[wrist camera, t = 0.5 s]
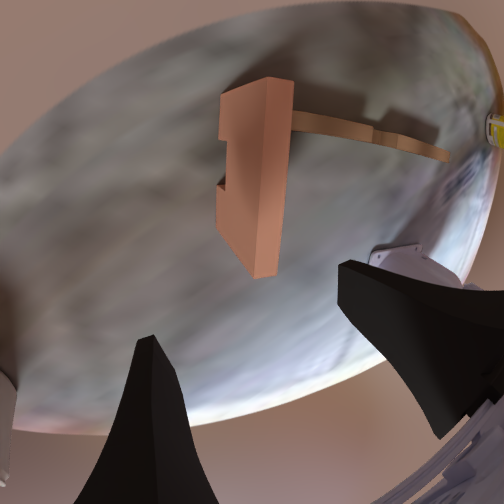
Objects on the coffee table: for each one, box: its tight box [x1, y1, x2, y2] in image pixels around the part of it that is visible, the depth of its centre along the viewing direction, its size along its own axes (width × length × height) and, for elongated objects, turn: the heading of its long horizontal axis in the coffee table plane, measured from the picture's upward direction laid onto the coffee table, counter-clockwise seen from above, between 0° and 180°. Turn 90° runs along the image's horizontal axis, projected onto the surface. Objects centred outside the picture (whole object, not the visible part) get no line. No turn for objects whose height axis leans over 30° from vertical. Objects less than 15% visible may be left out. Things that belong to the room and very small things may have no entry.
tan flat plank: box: [216, 77, 294, 279], centre depth 14 cm, size 9×1×7 cm, turn 175°
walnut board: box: [291, 110, 450, 163], centre depth 19 cm, size 20×1×3 cm, turn 86°
